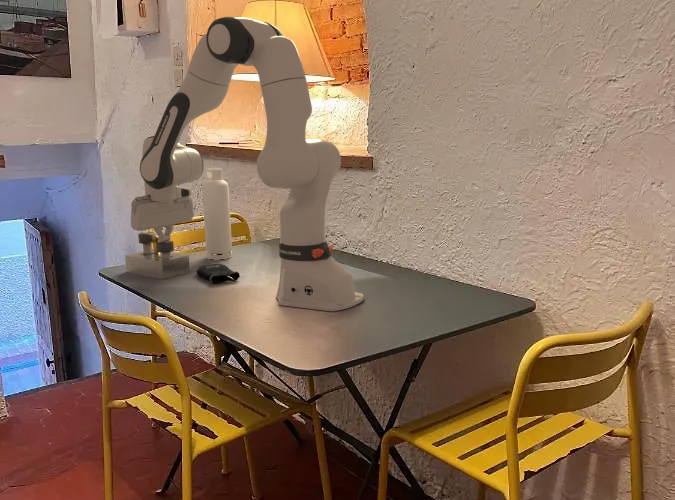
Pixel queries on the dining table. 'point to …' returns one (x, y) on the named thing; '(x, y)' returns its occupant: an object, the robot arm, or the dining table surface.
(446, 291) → the dining table surface
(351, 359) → the dining table surface
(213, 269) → the black pouch
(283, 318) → the dining table surface
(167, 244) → the knob near
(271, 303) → the dining table surface
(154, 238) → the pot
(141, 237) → the knob far
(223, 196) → the bottle
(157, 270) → the mount
